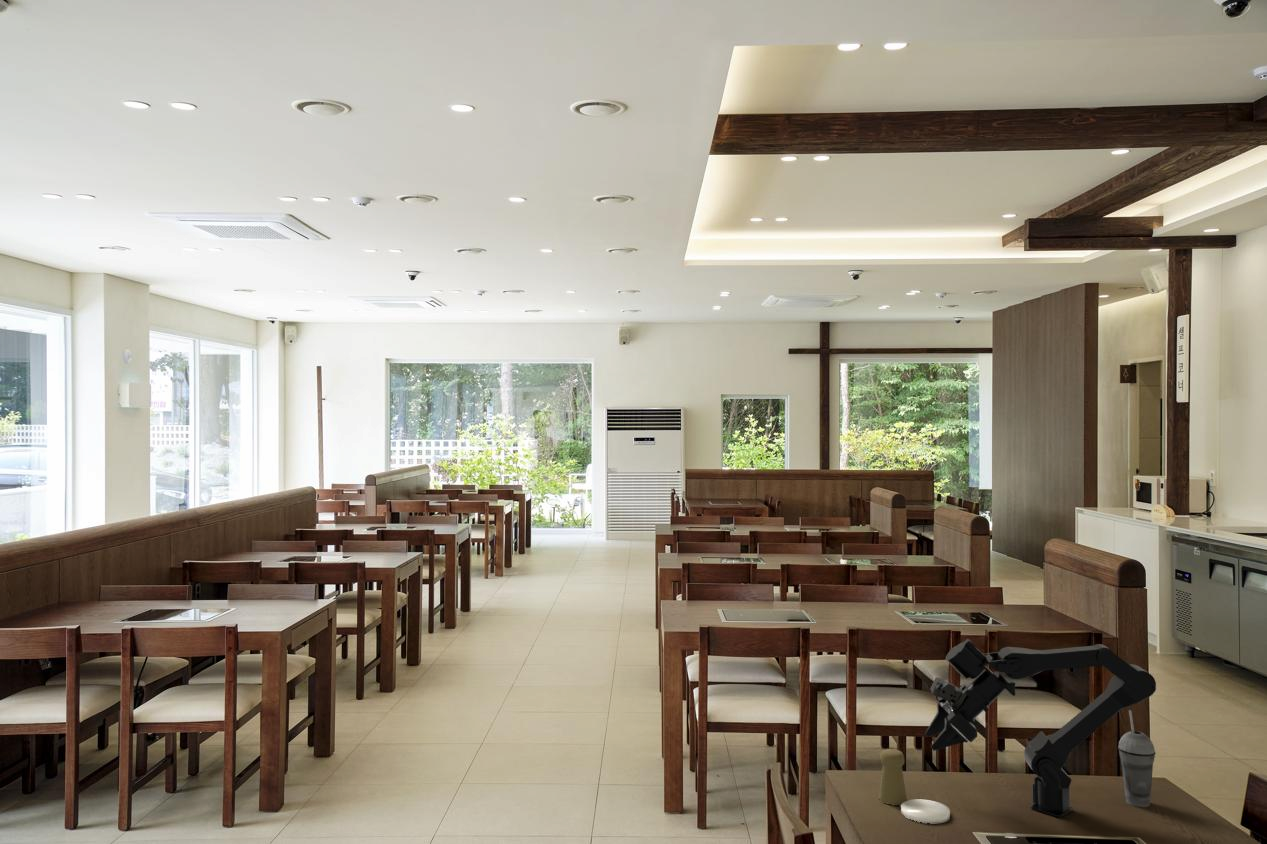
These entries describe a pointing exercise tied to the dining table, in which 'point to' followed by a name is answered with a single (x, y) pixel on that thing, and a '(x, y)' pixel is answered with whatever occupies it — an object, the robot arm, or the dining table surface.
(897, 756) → the cork
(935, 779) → the dining table surface
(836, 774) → the dining table surface
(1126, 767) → the beverage cup
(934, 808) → the coaster
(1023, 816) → the dining table surface
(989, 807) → the dining table surface
